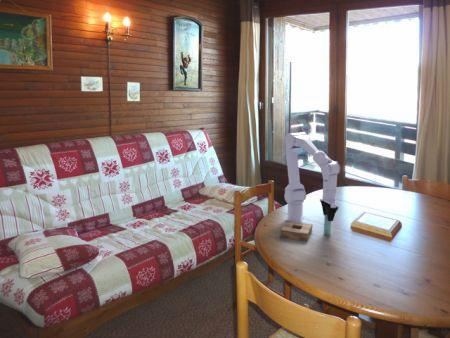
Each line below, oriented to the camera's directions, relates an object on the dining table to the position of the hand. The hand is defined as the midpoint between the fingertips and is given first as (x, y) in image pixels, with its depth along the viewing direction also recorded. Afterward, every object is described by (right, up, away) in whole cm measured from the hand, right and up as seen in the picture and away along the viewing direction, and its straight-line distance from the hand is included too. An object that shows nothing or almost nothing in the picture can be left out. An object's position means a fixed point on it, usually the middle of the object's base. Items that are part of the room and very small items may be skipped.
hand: (328, 217), depth 177 cm
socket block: (-14, -8, +2) cm, 16 cm away
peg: (0, -8, +2) cm, 8 cm away
